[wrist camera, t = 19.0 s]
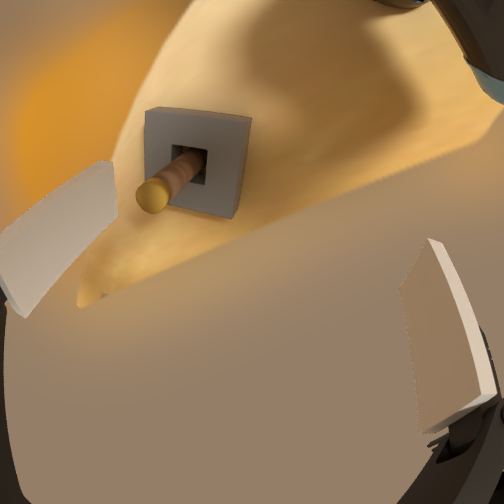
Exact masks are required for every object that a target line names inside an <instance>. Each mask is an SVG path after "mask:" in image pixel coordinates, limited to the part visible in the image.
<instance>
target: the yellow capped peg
mask: <svg viewBox="0 0 504 504" xmlns="http://www.w3.org/2000/svg"><path fill="white" fill-rule="evenodd" d="M207 154H208V151H207V150H206V149H201V148H195V147H191V148H190V149H188V150H187V151H185V152H184V153H183V154H181V155H180V156H179V157H177V158H176V159H174V160H173V161H172V162H170V163H169V164H168V165H166V166H165V167H164V168H162V169H161V170H160V171H158V172H157V173H156V174H155V175H153V176H152V177H151V178H149V179H148V180H147V181H146V182H144V183H143V184H142V185H141V186H139V187H138V189H137V191H136V200H137V203H138V204H139V206H140V207H141V208H142V209H143V210H144V211H146V212H148V213H151V214H155V213H158V212H160V211H161V210H162V209H163V208H164V207H165V206H166V205H167V204H168V203H169V202H170V201H171V200H172V199H173V197H174V196H175V195H176V194H177V193H178V192H179V191H180V190H181V189H182V188H183V187H184V186H185V185H186V184H187V183H188V182H189V181H190V180H191V179H192V178H193V177H194V176H195V175H197V174H198V173H199V172H200V171H201V170H202V169H203V168H204V167H205V166H206V165H207Z"/></svg>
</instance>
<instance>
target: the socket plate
mask: <svg viewBox="0 0 504 504" xmlns="http://www.w3.org/2000/svg"><path fill="white" fill-rule="evenodd" d="M251 120H252V118H248V117H242V116H236V115H229V114H223V113H215V112H208V111H199V110H190V109H180V108H168V107H156V108H153V109H150V110H147V111H145V141H144V148H145V182H146V181H147V180H148V179H149V178H151V177H152V176H153V175H155V174H156V173H157V172H158V171H160V170H161V169H162V168H164V167H165V166H166V165H168V164H169V163H170V162H172V161H173V160H174V159H176V158H177V157H179V156H180V155H181V154H182V146H188V147H195V148H201V149H207V150H208V154H207V165H206V175H205V174H200V173H198V174H197V175H195V176H194V177H193V178H192V179H191V180H190V181H189V182H188V183H187V184H186V185H185V186H184V187H183V188H182V189H181V190H180V191H179V192H178V193H177V194H176V195H175V196H174V197H173V199H172V200H171V201H170V202H169V203H168V205H172V206H177V207H181V208H186V209H190V210H194V211H199V212H203V213H207V214H212V215H216V216H220V217H224V218H228V219H232V218H233V216H234V215H235V213H236V211H237V209H238V205H239V198H240V192H241V185H242V178H243V171H244V165H245V158H246V152H247V145H248V139H249V133H250V127H251Z"/></svg>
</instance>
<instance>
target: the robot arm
mask: <svg viewBox="0 0 504 504" xmlns="http://www.w3.org/2000/svg"><path fill="white" fill-rule="evenodd" d="M374 1H377V2H379V3H382V4H384V5H388V6H392V7H397V8H415V7H419V6H421V5H423V4H425V3H427V2H429V1H431V2H432V4H433V5H434V6H435V8H436V9H437V11H438V12H439V14H440V15H441V17H442V18H443V20H444V21H445V23H446V25H447V26H448V28H449V29H450V31H451V33H452V34H453V36H454V38H455V40H456V41H457V43H458V45H459V47H460V49H461V51H462V52H463V54H464V55H463V57H464V59H465V61H466V63H467V64H468V65H469V66H470V67H471V69H472V71H473V73H474V75H475V77H476V79H477V81H478V83H479V85H480V87H481V88H482V90H483V91H484V92H485V93H486V94H488V95H489V96H490V97H491V98H492V99H493V100H495V101H497V102H499V103H501V104H503V105H504V0H374ZM117 217H118V208H117V199H116V190H115V180H114V167H113V162H110V161H101V160H100V161H98V162H96V163H95V164H93V165H91V166H90V167H88V168H87V169H85V170H83V171H82V172H80V173H79V174H77V175H76V176H74V177H73V178H71V179H70V180H68V181H67V182H66V183H64V184H62V185H61V186H59V187H58V188H57V189H55V190H54V191H52V192H51V193H50V194H48V195H47V196H45V197H44V198H43V199H41V200H40V201H39V202H37V203H36V204H35V205H34V206H32V207H31V208H30V209H29V210H27V211H26V212H25V213H24V214H22V215H21V216H20V217H19V218H17V219H16V220H15V221H14V222H13V223H12V224H11V225H9V226H8V227H7V228H6V229H5V230H4V231H3V232H1V233H0V504H31V503H30V502H29V501H28V500H27V499H26V498H25V497H24V496H23V494H22V492H21V489H20V486H19V482H18V478H17V474H16V470H15V466H14V462H13V458H12V452H11V448H10V442H9V435H8V429H7V421H6V411H5V400H4V376H3V362H4V361H3V360H4V359H3V358H4V337H5V325H6V315H7V309H6V306H5V305H4V303H5V301H6V300H7V299H8V301H9V303H10V305H11V306H12V308H13V309H14V311H15V312H17V313H18V314H20V315H21V316H22V317H24V318H27V317H28V315H29V314H30V313H31V311H32V310H33V309H34V307H35V306H36V305H37V303H38V302H39V301H40V300H41V299H42V297H43V296H44V295H45V294H46V293H47V291H48V290H49V289H50V288H51V287H52V285H53V284H54V283H55V282H56V281H57V280H58V278H59V277H60V276H61V275H62V274H63V273H64V272H65V271H66V269H67V268H68V267H69V266H70V265H71V264H72V263H73V262H74V261H75V259H76V258H77V257H78V256H79V255H80V254H81V253H82V252H83V251H84V250H85V249H86V248H87V247H88V246H89V245H90V244H91V243H92V242H93V241H94V240H95V239H96V238H97V237H98V236H99V235H100V234H101V233H102V232H103V231H104V230H105V229H106V228H107V227H108V226H109V225H110V224H111V223H112V222H113V221H114V220H115V219H116V218H117ZM399 292H400V297H401V301H402V306H403V310H404V315H405V320H406V325H407V331H408V336H409V342H410V348H411V355H412V362H413V370H414V377H415V387H416V398H417V411H418V432H419V434H427V433H437V432H438V431H440V430H442V429H444V428H446V427H447V426H448V427H449V433H447V434H445V435H444V436H442V437H440V438H438V439H436V440H434V441H432V442H430V443H429V444H428V445H427V447H428V448H429V447H431V446H433V445H436V444H438V443H439V444H438V446H437V447H435V448H433V449H432V451H433V454H432V456H431V457H430V459H429V461H428V462H427V463H426V465H425V466H424V468H423V469H422V471H421V472H420V474H419V475H418V476H417V478H416V479H415V481H414V482H413V483H412V485H411V486H410V488H409V489H408V490H407V491H406V493H405V494H404V495H403V496H402V498H401V499H400V500H399V501H398V503H397V504H504V471H503V469H504V398H503V399H502V397H501V393H500V388H499V384H498V379H497V375H496V371H495V367H494V364H493V360H491V358H492V357H491V353H490V350H488V348H489V347H488V343H487V340H486V337H485V334H484V333H483V331H482V329H481V328H480V326H479V325H478V323H477V321H476V318H475V315H474V313H473V310H472V307H471V305H470V302H469V300H468V298H467V295H466V293H465V290H464V288H463V286H462V283H461V281H460V279H459V277H458V275H457V272H456V270H455V268H454V266H453V264H452V262H451V260H450V258H449V256H448V254H447V252H446V250H445V248H444V246H443V244H442V243H440V242H437V241H435V240H432V239H429V238H428V239H427V241H426V242H425V244H424V246H423V248H422V249H421V251H420V253H419V255H418V256H417V258H416V260H415V262H414V263H413V265H412V267H411V268H410V270H409V272H408V273H407V275H406V277H405V278H404V280H403V281H402V283H401V285H400V286H399Z"/></svg>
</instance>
